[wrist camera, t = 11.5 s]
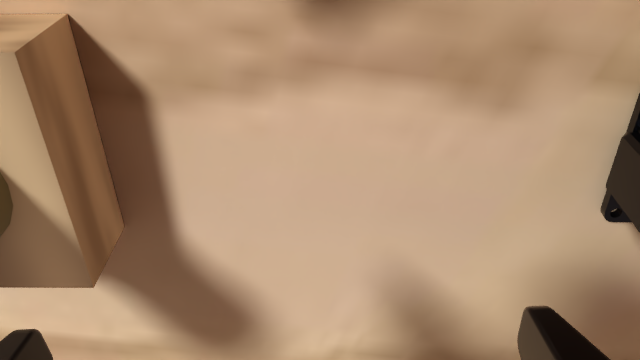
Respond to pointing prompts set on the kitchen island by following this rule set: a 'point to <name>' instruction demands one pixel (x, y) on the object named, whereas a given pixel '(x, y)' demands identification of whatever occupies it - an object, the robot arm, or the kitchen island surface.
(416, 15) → the kitchen island surface
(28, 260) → the cream square block
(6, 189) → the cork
